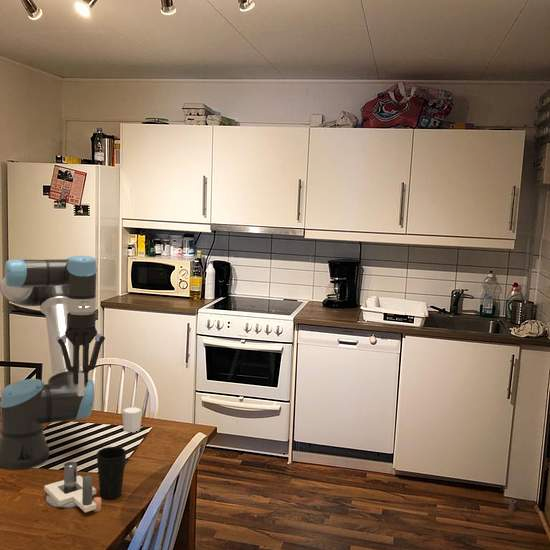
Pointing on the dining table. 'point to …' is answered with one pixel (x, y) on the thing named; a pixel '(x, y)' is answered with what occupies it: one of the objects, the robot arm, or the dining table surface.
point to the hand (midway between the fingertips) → (80, 394)
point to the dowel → (97, 504)
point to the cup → (111, 471)
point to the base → (67, 485)
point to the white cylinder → (131, 419)
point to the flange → (74, 493)
